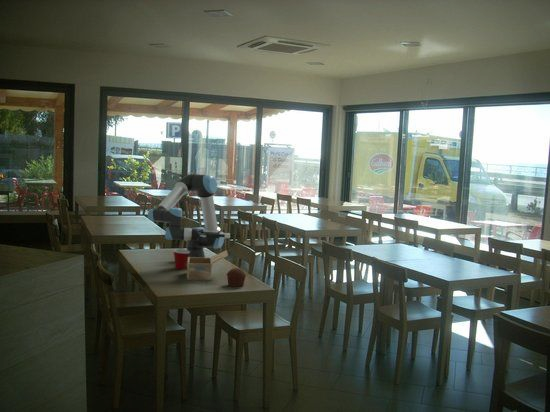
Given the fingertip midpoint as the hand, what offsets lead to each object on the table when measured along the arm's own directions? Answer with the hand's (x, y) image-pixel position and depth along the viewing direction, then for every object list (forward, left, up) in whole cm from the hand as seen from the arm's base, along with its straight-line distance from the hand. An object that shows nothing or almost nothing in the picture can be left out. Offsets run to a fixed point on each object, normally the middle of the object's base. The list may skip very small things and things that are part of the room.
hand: (229, 235), depth 353 cm
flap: (+6, -8, -16) cm, 19 cm away
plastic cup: (+1, -37, -26) cm, 45 cm away
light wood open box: (+11, -14, -26) cm, 31 cm away
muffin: (+15, +16, -26) cm, 34 cm away
